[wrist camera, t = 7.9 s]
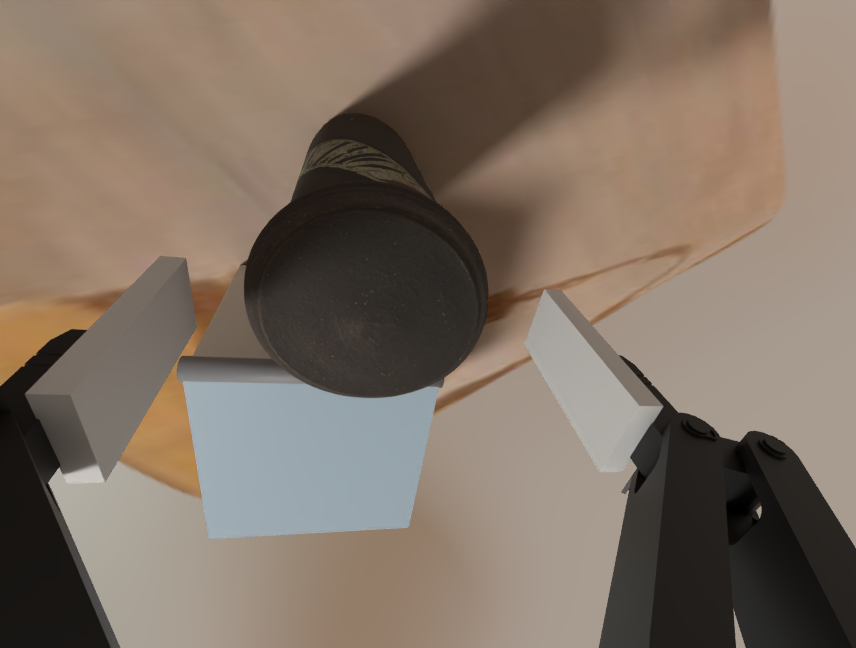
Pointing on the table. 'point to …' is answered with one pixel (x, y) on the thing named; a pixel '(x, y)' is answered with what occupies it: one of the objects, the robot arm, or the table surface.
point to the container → (365, 271)
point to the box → (231, 327)
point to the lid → (300, 450)
